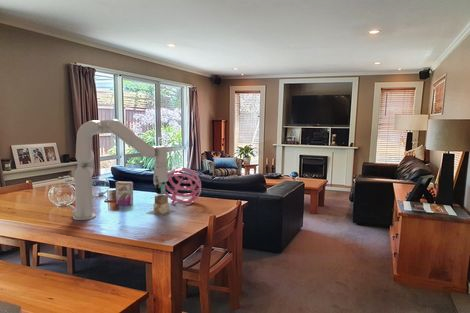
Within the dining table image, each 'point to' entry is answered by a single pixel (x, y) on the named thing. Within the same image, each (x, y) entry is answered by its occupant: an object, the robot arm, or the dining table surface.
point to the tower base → (161, 208)
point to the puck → (162, 188)
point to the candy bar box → (124, 193)
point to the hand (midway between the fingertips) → (161, 192)
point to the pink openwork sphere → (177, 187)
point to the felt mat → (161, 214)
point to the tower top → (161, 199)
